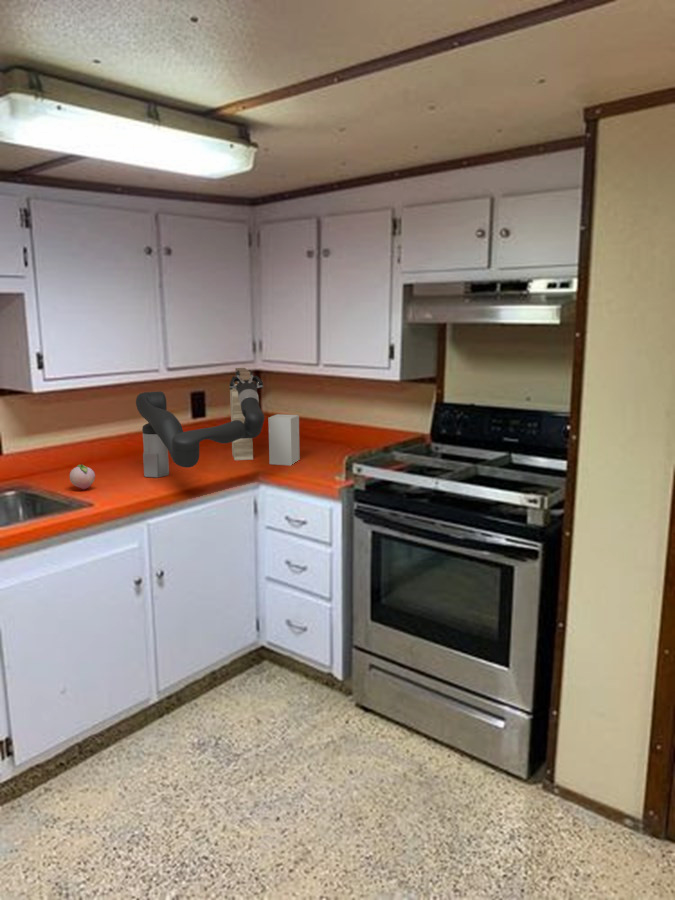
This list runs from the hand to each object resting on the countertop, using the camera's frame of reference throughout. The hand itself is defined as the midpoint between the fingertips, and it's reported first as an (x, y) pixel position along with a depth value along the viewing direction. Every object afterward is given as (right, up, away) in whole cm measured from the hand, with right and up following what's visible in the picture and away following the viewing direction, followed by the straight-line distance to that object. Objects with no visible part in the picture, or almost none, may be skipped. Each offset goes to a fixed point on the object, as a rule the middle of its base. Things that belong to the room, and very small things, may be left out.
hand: (243, 372), depth 282 cm
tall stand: (-4, -35, +25) cm, 43 cm away
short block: (+16, -37, +14) cm, 43 cm away
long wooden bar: (-1, -3, +5) cm, 5 cm away
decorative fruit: (-55, -47, -30) cm, 78 cm away
